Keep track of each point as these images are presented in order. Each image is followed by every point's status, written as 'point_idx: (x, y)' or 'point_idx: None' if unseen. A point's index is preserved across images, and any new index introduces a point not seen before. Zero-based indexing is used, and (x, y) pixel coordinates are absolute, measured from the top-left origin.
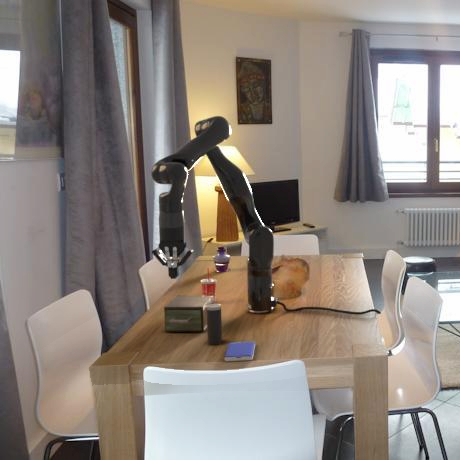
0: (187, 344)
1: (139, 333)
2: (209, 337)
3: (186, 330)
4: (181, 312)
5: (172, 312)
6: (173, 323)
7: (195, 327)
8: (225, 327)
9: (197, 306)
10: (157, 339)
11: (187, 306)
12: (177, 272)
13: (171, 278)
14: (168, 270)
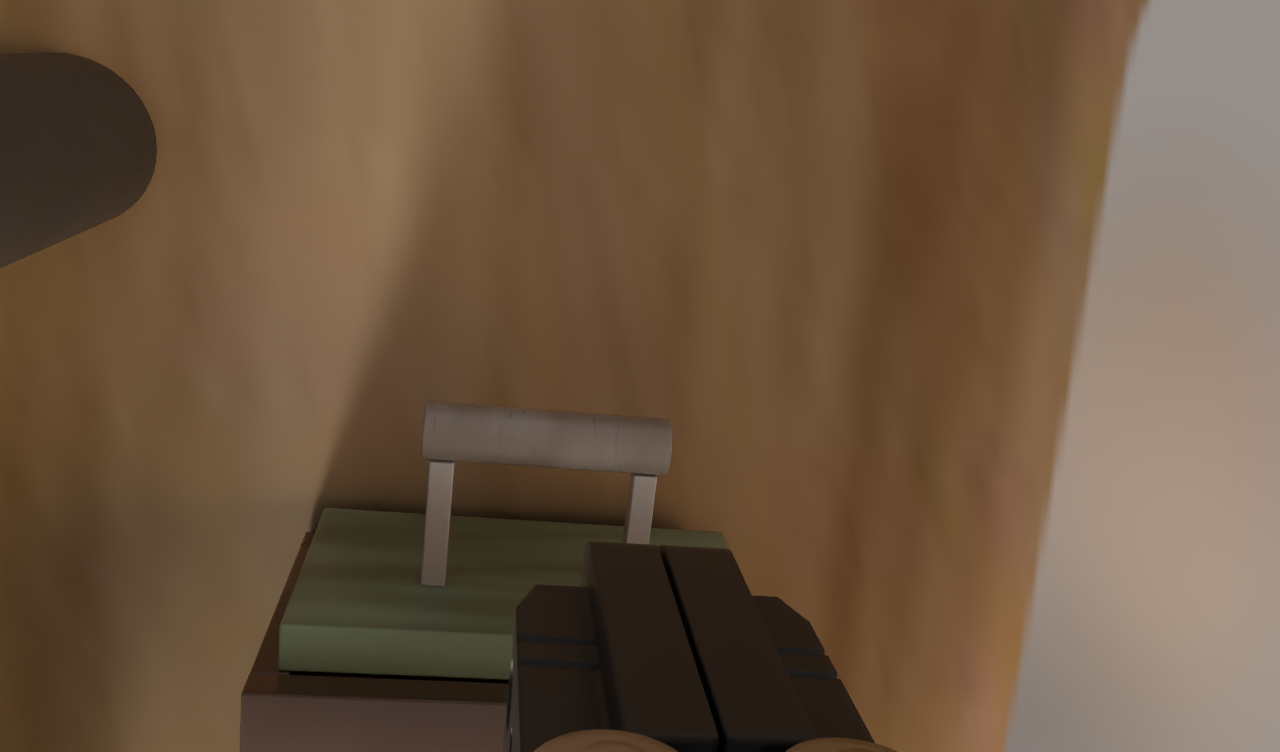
0: (397, 116)
1: (981, 532)
2: (86, 76)
3: None
4: None
5: None
6: (616, 417)
7: (383, 526)
8: (87, 673)
9: (332, 729)
10: (768, 326)
11: (481, 732)
12: (519, 666)
13: (700, 552)
14: (857, 721)
